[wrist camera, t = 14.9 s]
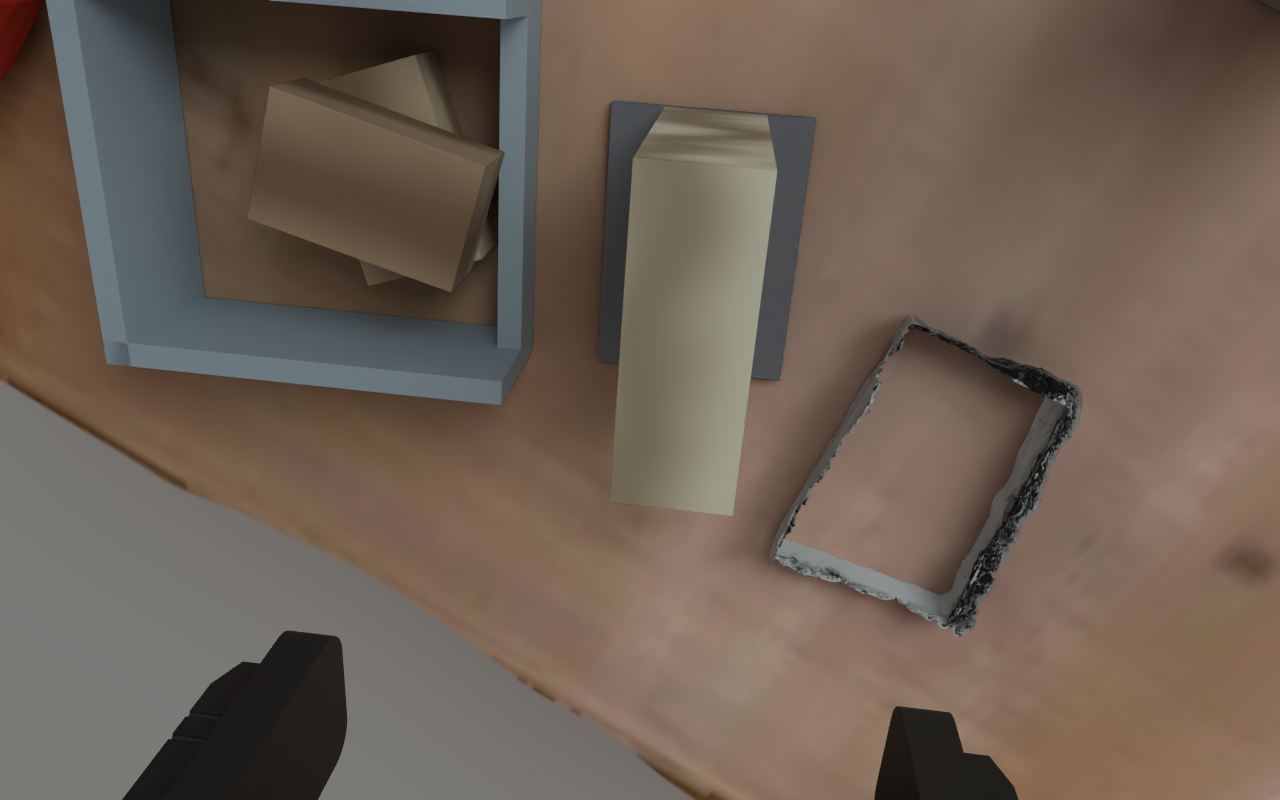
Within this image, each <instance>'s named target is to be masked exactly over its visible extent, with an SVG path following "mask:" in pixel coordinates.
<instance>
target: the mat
mask: <svg viewBox="0 0 1280 800" xmlns="http://www.w3.org/2000/svg"><path fill="white" fill-rule="evenodd" d="M664 107H676V108H688V109H699V110H710V111H722V112H733V113H745V114H756V115H767V117H768V122H769V128H770V133H771V139H772V144H773V150H774V155H775V161H776V166H777V178H776V186H775V193H774V201H773V209H772V217H771V224H770V232H769V240H768V248H767V255H766V263H765V271H764V279H763V286H762V294H761V302H760V310H759V317H758V325H757V333H756V341H755V349H754V356H753V364H752V372H751V378H761V379H771V380H780V375H781V368H782V361H783V353H784V346H785V339H786V332H787V325H788V318H789V310H790V303H791V296H792V289H793V282H794V275H795V267H796V260H797V253H798V246H799V239H800V231H801V224H802V217H803V210H804V203H805V196H806V188H807V181H808V174H809V167H810V160H811V153H812V145H813V138H814V131H815V124H816V118H812V117H801V116H789V115H777V114H765V113H753V112H741V111H729V110H718V109H706V108H694V107H682V106H670V105H658V104H647V103H635V102H623V101H612V105H611V123H610V141H609V159H608V177H607V195H606V213H605V231H604V249H603V267H602V285H601V303H600V322H599V340H598V358H597V362H603V363H613V364H619V357H620V342H621V327H622V313H623V298H624V283H625V269H626V254H627V239H628V225H629V210H630V195H631V181H632V166H633V157H634V156H635V154H636V152H637V151H638V149H639V148H640V146H641V144H642V143H643V141H644V139H645V138H646V136H647V135H648V133H649V131H650V130H651V128H652V127H653V125H654V123H655V122H656V120H657V119H658V117H659V115H660V114H661V112H662V111H663V109H664Z"/></svg>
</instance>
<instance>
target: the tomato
mask: <svg viewBox="0 0 1280 800" xmlns="http://www.w3.org/2000/svg"><path fill="white" fill-rule="evenodd" d="M43 1H44V0H0V80H1V79H2V78H3V77H4V75H5V74H6V73H7V72H8V71H9V70H10V68H11V67H12V65H13V64H14V62H15V60H16V58H17V56H18V54H19V52H20V50H21V48H22V46H23V44H24V42H25V40H26V38H27V36H28V34H29V32H30V30H31V28H32V25H33V23H34V21H35V19H36V17H37V14H38V12H39V10H40V8H41V6H42V3H43Z"/></svg>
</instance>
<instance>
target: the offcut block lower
mask: <svg viewBox="0 0 1280 800" xmlns="http://www.w3.org/2000/svg"><path fill="white" fill-rule="evenodd" d="M317 83H320V84H322V85H325V86H328V87H330V88H333V89H336V90H339V91H341V92H344V93H347V94H349V95H352V96H355V97H357V98H360V99H363V100H366V101H368V102H371V103H374V104H376V105H379V106H382V107H384V108H387V109H390V110H392V111H395V112H398V113H401V114H403V115H406V116H409V117H411V118H414V119H417V120H419V121H422V122H425V123H428V124H430V125H433V126H436V127H438V128H441V129H444V130H446V131H449V132H452V133H454V134H457V135H460V136H463V135H462V132H461V129H460V126H459V123H458V120H457V117H456V113H455V110H454V107H453V104H452V101H451V98H450V95H449V92H448V88H447V85H446V82H445V79H444V76H443V73H442V70H441V66H440V63H439V60H438V57H437V54H436V51H430V52H426V53H421V54H417V55H413V56H409V57H406V58H402V59H399V60H395V61H392V62H388V63H385V64H381V65H378V66H374V67H370V68H367V69H363V70H360V71H356V72H353V73H349V74H346V75H342V76H339V77H335V78H332V79H328V80H325V81H321V82H317ZM496 243H497V242H496V239H495V236H494V233H493V230H492V227H491V223H490V220H489V217H488V214H487V217H486V221H485V224H484V228H483V231H482V235H481V238H480V242H479V246H478V249H477V253H476V256H475V260H474V261H476V260H481V259H482V258H483V257H484V256H485V255H486V254H487V253H488V252H489V251H490V250H491V249H492V248H493V247H494V246H495V245H496ZM359 262H360V265H361V267H362V270H363V273H364V275H365V278H366V281H367V283H368V286H371V285H375V284H379V283H384V282H388V281H392V280H396V279H400V278H405V277H407V276H404V275H401V274H399V273H396V272H393V271H390V270H388V269H385V268H382V267H379V266H377V265H374V264H371V263H368V262H366V261H363V260H360V259H359Z"/></svg>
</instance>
